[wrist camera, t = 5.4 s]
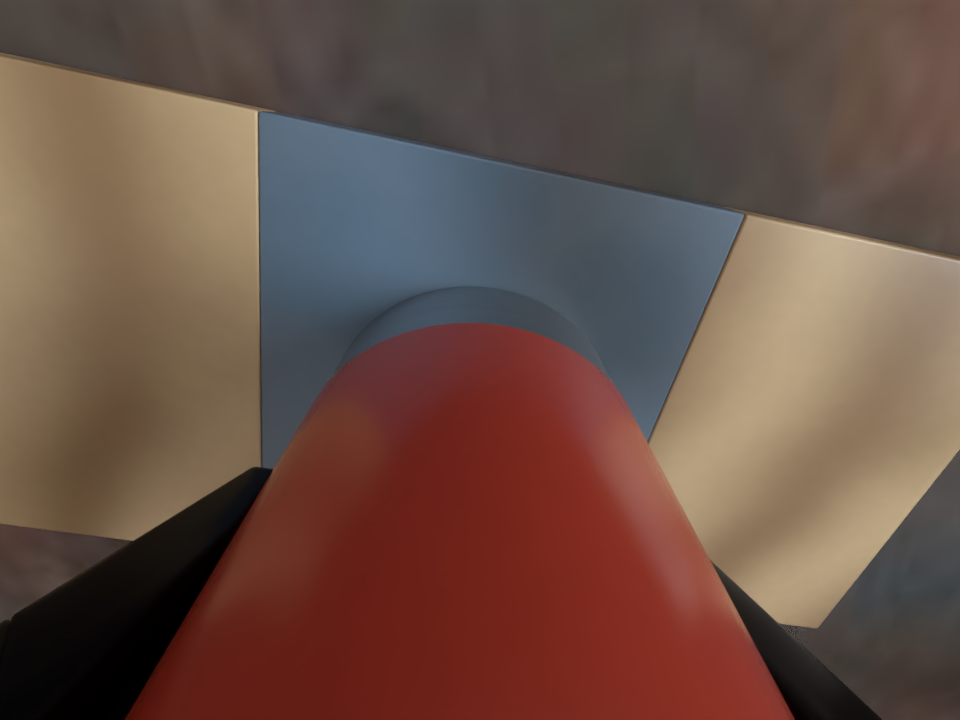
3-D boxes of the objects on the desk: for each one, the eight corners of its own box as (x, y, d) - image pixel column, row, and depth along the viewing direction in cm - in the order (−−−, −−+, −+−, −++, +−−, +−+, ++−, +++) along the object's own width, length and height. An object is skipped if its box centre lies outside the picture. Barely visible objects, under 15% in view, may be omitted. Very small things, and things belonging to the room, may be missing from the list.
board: (-1, 493, 13) (-37, 520, 12) (-158, 18, 8) (-234, 6, 7) (798, 599, 15) (817, 629, 14) (1038, 272, 11) (1090, 287, 10)
